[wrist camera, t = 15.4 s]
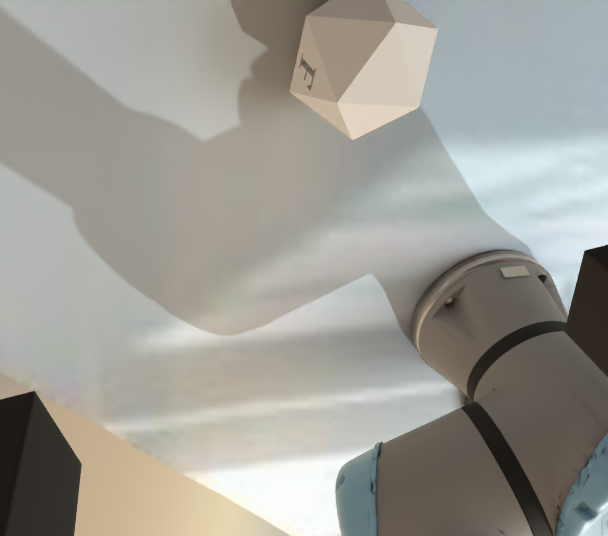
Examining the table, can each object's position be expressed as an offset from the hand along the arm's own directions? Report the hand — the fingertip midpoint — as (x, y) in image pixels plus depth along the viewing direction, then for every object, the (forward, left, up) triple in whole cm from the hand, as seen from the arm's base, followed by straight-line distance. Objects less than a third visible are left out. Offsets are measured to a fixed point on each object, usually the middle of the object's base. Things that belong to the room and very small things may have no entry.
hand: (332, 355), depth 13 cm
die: (-1, -9, -29) cm, 30 cm away
